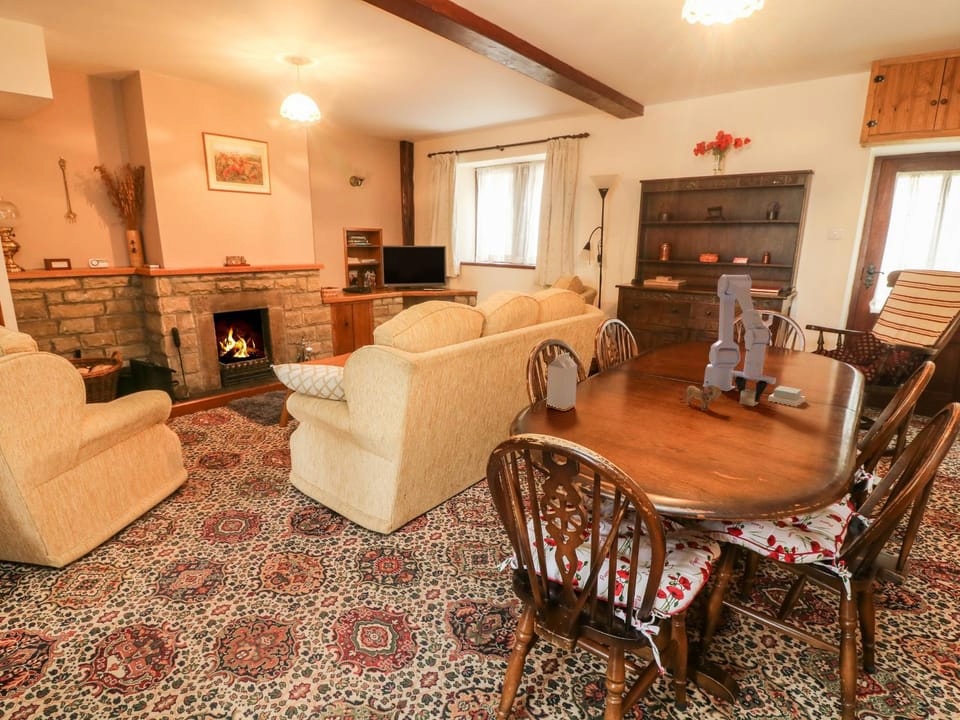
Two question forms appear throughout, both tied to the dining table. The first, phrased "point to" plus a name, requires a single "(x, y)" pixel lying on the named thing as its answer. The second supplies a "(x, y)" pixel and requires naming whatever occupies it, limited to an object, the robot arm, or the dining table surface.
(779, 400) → the bottom slab
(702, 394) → the lion figurine
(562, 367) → the milk carton
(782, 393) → the top slab
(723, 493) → the dining table surface
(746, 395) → the birch block
